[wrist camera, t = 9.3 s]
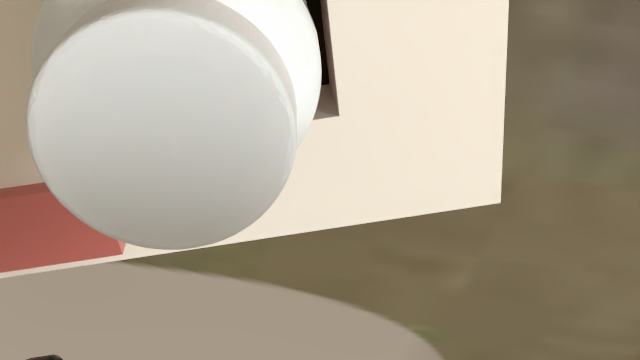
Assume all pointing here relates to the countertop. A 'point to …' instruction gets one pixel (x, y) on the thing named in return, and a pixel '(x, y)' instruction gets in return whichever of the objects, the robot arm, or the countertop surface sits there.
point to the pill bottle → (170, 112)
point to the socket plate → (311, 130)
